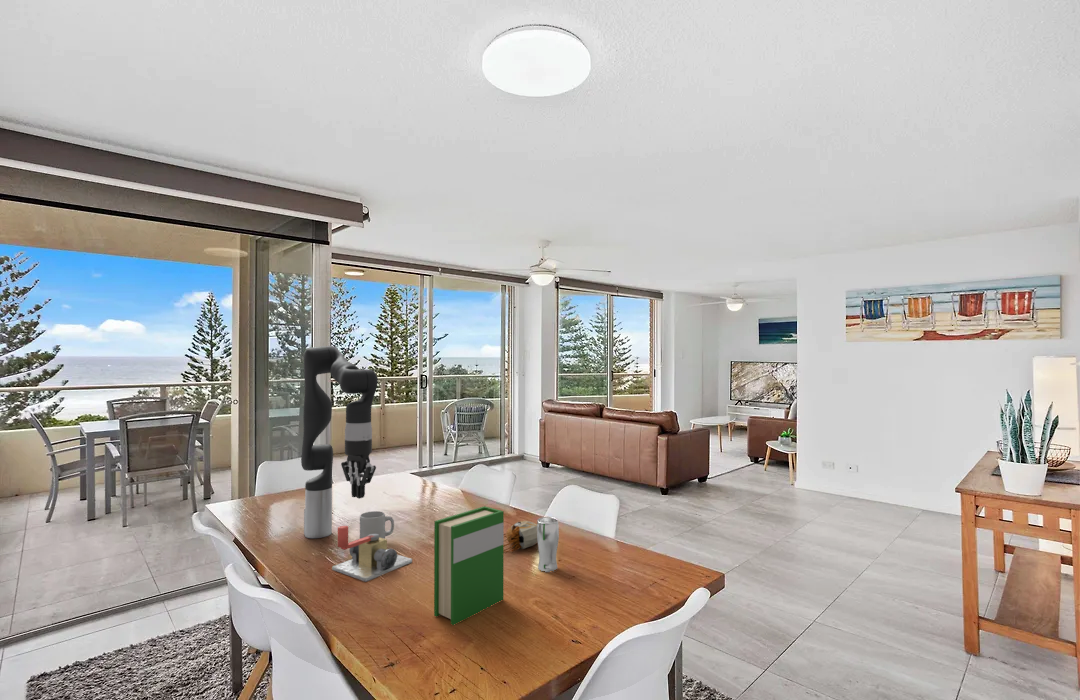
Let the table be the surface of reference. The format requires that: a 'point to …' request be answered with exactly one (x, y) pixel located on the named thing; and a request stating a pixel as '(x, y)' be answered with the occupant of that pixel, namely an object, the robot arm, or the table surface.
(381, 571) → the valve body
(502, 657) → the table surface
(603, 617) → the table surface
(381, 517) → the mug
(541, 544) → the beer glass
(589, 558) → the table surface
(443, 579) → the hardback book
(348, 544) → the lever
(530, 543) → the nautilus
